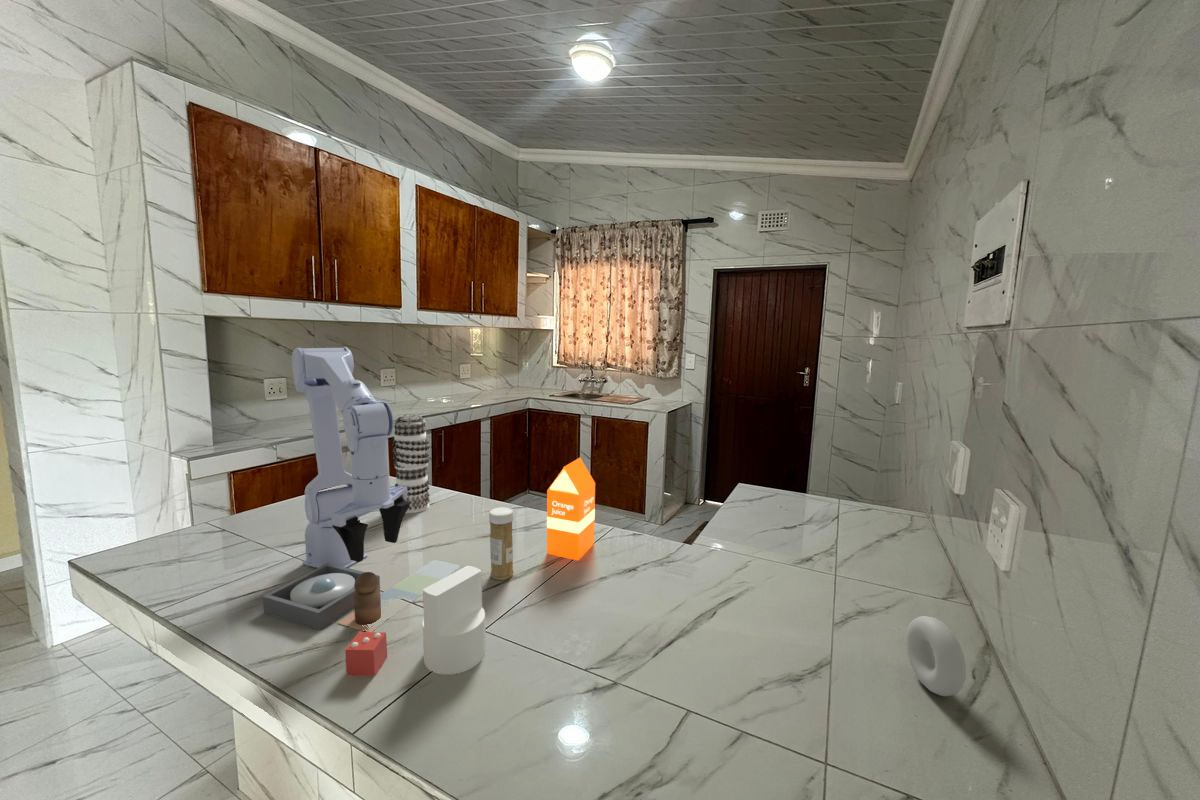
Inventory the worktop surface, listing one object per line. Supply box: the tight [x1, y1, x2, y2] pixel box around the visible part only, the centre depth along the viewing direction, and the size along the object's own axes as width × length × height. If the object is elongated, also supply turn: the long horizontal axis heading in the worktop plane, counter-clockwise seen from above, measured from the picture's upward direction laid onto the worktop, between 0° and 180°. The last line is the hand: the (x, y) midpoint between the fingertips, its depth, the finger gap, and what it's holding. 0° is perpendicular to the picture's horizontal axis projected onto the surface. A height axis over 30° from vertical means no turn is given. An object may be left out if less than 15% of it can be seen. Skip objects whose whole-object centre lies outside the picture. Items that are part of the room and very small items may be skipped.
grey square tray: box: [261, 563, 381, 631], centre depth 87 cm, size 13×13×3 cm
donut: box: [905, 615, 967, 697], centre depth 69 cm, size 10×4×10 cm, turn 179°
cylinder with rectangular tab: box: [422, 565, 487, 676], centre depth 74 cm, size 9×9×12 cm
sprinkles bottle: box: [488, 506, 514, 581], centre depth 97 cm, size 5×5×14 cm
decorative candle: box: [391, 414, 431, 514], centre depth 130 cm, size 9×9×25 cm
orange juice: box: [546, 457, 596, 561], centre depth 108 cm, size 8×9×20 cm
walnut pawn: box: [353, 571, 381, 625], centre depth 82 cm, size 4×4×8 cm
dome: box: [290, 573, 355, 609], centre depth 87 cm, size 10×10×4 cm
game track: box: [337, 559, 462, 632], centre depth 91 cm, size 7×24×1 cm, turn 160°
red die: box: [344, 631, 388, 677], centre depth 71 cm, size 4×4×4 cm
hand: (374, 550), depth 85 cm, fingers open, 7 cm apart
